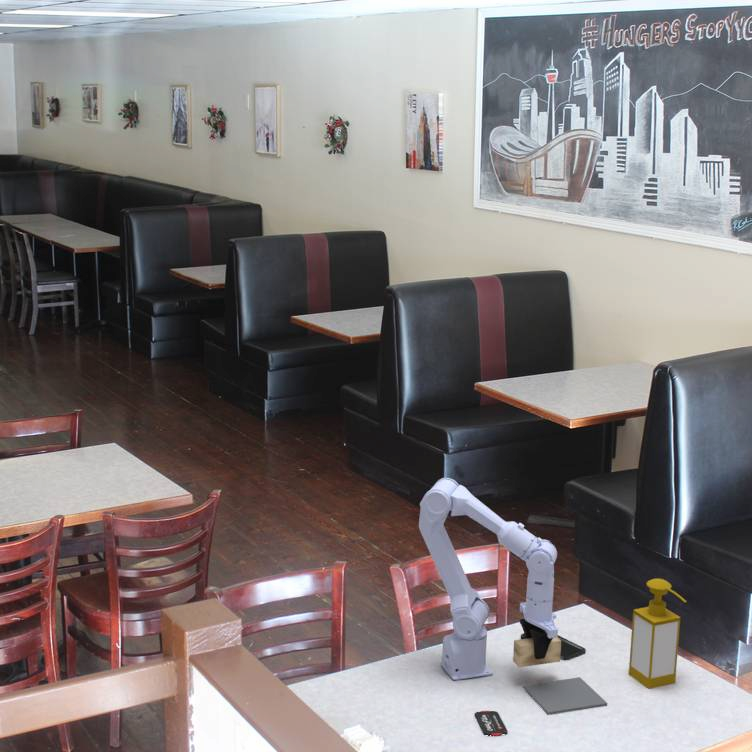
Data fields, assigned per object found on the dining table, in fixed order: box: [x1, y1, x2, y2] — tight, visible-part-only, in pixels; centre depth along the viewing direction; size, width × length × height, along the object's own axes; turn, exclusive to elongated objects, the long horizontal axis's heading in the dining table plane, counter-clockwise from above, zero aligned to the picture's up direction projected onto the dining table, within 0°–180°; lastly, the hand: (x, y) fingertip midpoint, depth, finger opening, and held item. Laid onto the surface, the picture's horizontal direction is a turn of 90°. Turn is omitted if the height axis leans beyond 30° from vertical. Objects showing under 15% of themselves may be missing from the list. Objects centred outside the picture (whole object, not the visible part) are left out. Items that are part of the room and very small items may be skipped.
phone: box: [520, 632, 586, 662], centre depth 260 cm, size 8×1×15 cm
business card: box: [474, 710, 509, 737], centre depth 224 cm, size 10×1×5 cm
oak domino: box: [512, 637, 561, 668], centre depth 241 cm, size 10×3×5 cm, turn 108°
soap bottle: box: [628, 578, 687, 690], centre depth 240 cm, size 7×13×24 cm, turn 24°
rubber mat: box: [522, 676, 608, 715], centre depth 236 cm, size 14×12×1 cm
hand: (536, 654), depth 241 cm, fingers closed on oak domino, 3 cm apart
